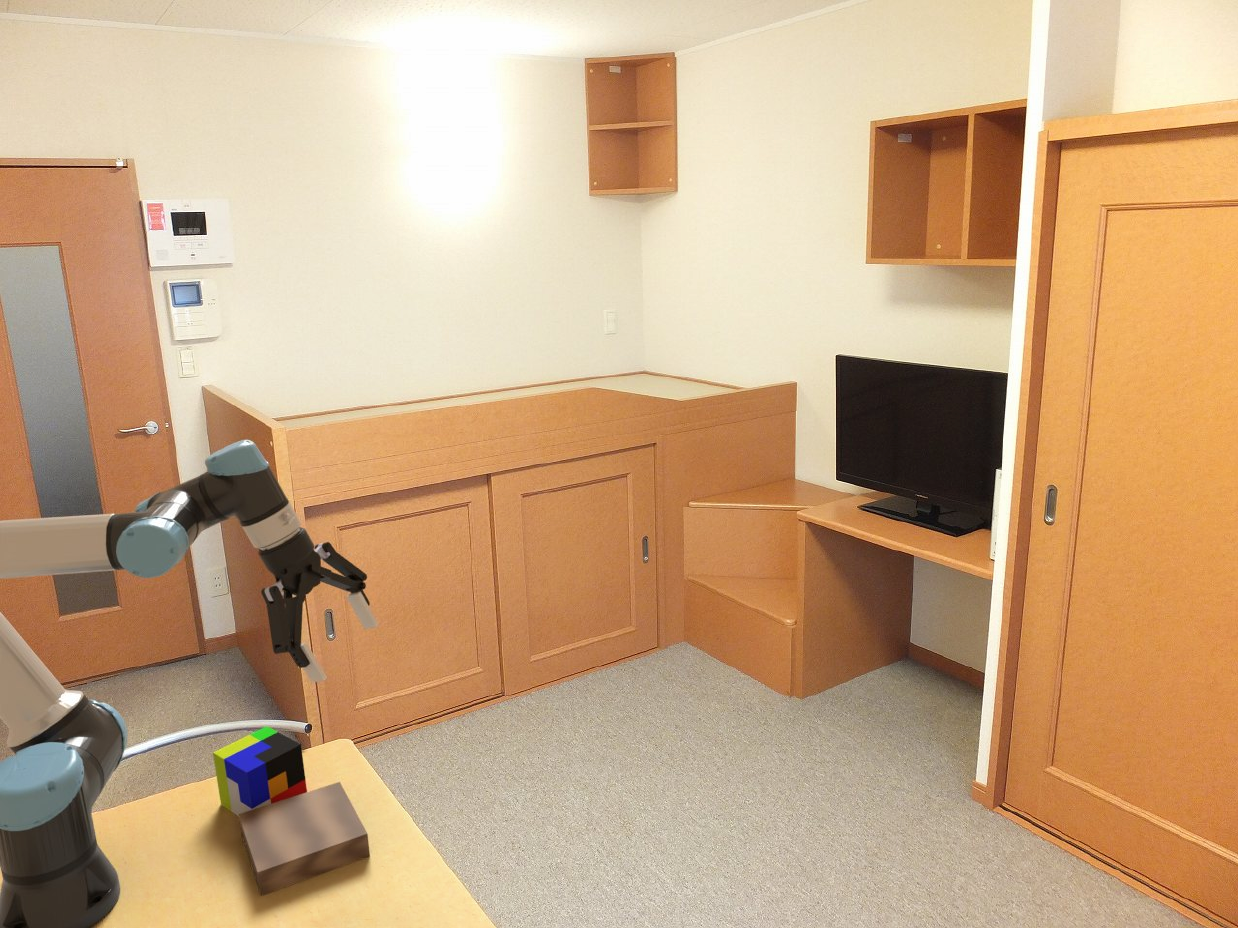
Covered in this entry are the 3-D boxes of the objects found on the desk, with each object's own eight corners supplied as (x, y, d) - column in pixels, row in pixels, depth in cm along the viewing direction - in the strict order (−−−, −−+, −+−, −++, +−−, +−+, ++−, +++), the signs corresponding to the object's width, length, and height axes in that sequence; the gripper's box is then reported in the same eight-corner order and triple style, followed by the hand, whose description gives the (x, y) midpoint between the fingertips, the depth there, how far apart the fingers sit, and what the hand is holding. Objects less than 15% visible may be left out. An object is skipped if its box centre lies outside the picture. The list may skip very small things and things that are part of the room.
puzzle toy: (254, 826, 150) (246, 772, 148) (221, 804, 156) (212, 752, 153) (307, 796, 158) (300, 744, 155) (273, 776, 164) (266, 726, 161)
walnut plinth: (261, 895, 134) (257, 872, 133) (241, 835, 148) (238, 814, 147) (369, 855, 142) (367, 833, 141) (342, 802, 156) (339, 781, 155)
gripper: (238, 579, 127) (312, 702, 133) (347, 494, 147) (407, 604, 154) (203, 587, 130) (277, 706, 137) (315, 502, 151) (375, 609, 157)
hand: (346, 652), depth 145 cm, fingers open, 13 cm apart
